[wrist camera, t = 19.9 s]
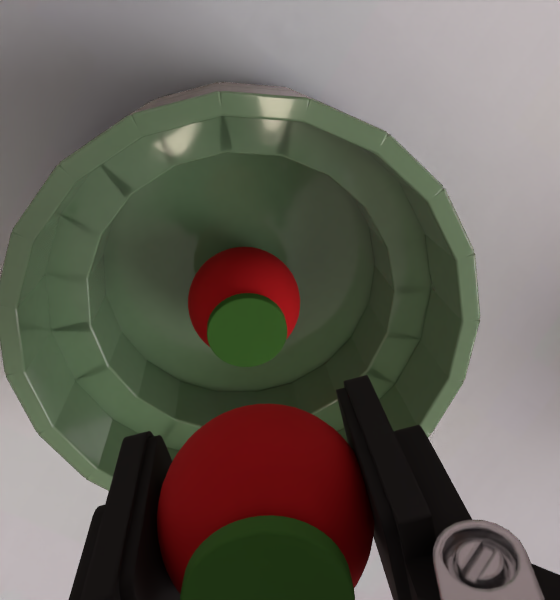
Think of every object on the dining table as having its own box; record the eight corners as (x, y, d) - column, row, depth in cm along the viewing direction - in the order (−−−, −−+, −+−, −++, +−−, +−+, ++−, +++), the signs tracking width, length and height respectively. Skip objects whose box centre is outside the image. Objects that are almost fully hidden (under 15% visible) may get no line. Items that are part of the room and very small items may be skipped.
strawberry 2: (274, 560, 13) (280, 750, 9) (138, 464, 12) (76, 623, 8) (390, 444, 12) (457, 590, 8) (255, 335, 11) (252, 435, 7)
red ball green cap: (207, 333, 22) (205, 397, 18) (176, 245, 20) (167, 296, 16) (302, 309, 22) (319, 368, 18) (280, 219, 20) (294, 263, 16)
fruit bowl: (132, 451, 25) (107, 563, 19) (-10, 140, 19) (-106, 175, 13) (432, 373, 24) (493, 464, 19) (387, 36, 18) (457, 27, 13)
